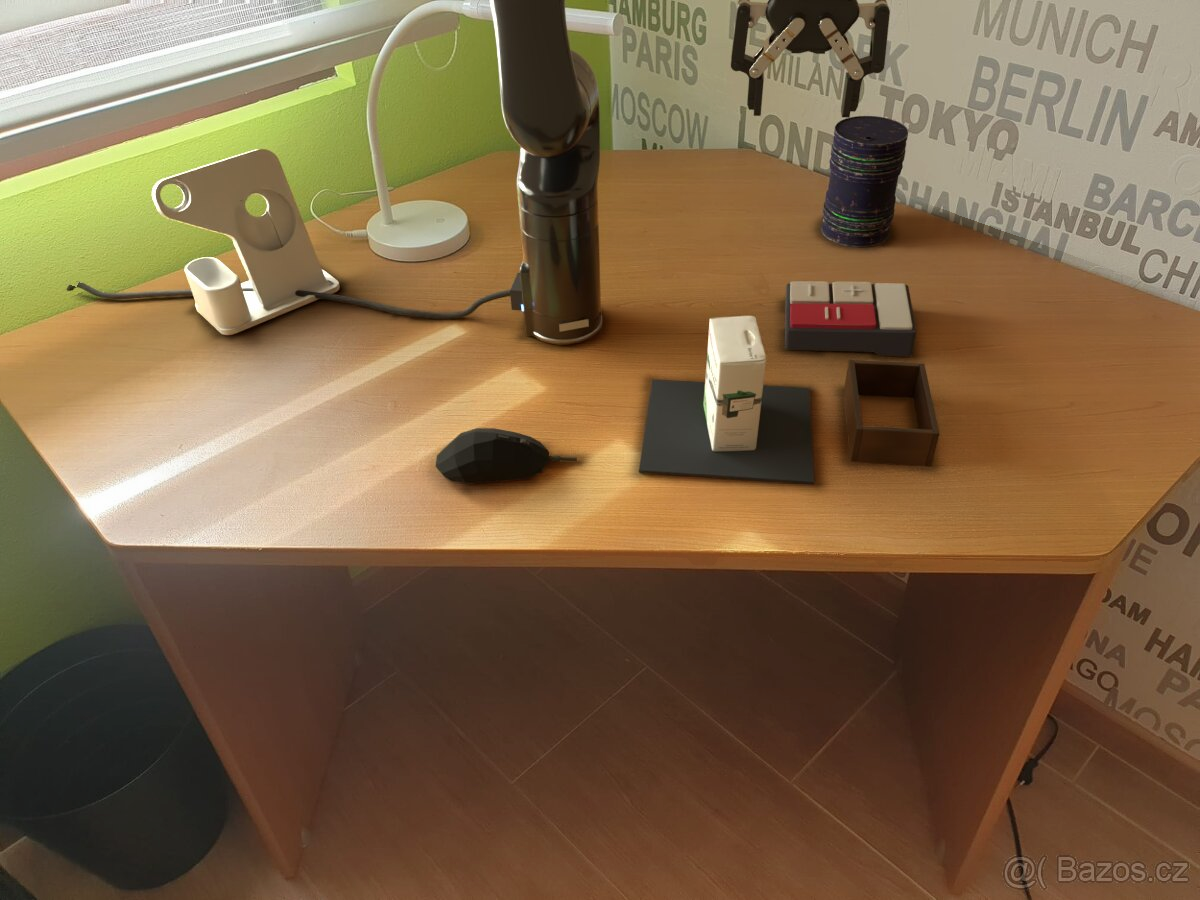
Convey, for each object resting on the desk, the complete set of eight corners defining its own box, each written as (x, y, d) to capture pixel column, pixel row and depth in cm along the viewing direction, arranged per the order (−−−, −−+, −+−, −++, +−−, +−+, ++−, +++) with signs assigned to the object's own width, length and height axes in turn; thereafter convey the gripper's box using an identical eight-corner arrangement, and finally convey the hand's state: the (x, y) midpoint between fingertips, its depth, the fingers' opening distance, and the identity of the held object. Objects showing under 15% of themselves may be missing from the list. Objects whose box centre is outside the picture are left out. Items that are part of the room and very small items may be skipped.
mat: (638, 473, 100) (638, 470, 99) (652, 381, 112) (652, 379, 111) (814, 484, 98) (814, 481, 97) (808, 390, 110) (809, 387, 109)
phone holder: (222, 338, 121) (177, 207, 109) (190, 307, 127) (144, 180, 115) (343, 288, 129) (313, 162, 118) (307, 262, 135) (275, 138, 124)
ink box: (701, 403, 108) (706, 314, 100) (746, 401, 108) (754, 312, 100) (711, 453, 101) (717, 362, 93) (758, 451, 101) (768, 359, 93)
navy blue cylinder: (826, 211, 143) (840, 112, 133) (894, 219, 140) (912, 119, 130) (814, 242, 136) (828, 140, 126) (885, 251, 133) (904, 148, 123)
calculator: (786, 277, 121) (909, 278, 119) (784, 306, 124) (904, 307, 122) (786, 324, 113) (917, 326, 111) (784, 354, 116) (913, 357, 114)
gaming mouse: (577, 480, 99) (576, 451, 96) (435, 488, 99) (429, 459, 96) (576, 441, 104) (574, 412, 101) (439, 448, 103) (434, 419, 101)
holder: (850, 461, 100) (857, 428, 97) (843, 391, 109) (848, 359, 106) (931, 466, 99) (940, 433, 96) (917, 395, 108) (924, 363, 105)
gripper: (899, -79, 86) (871, 101, 96) (739, -79, 87) (728, 98, 98) (909, -58, 80) (877, 131, 90) (737, -59, 82) (726, 127, 92)
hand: (800, 113), depth 94 cm, fingers open, 8 cm apart
